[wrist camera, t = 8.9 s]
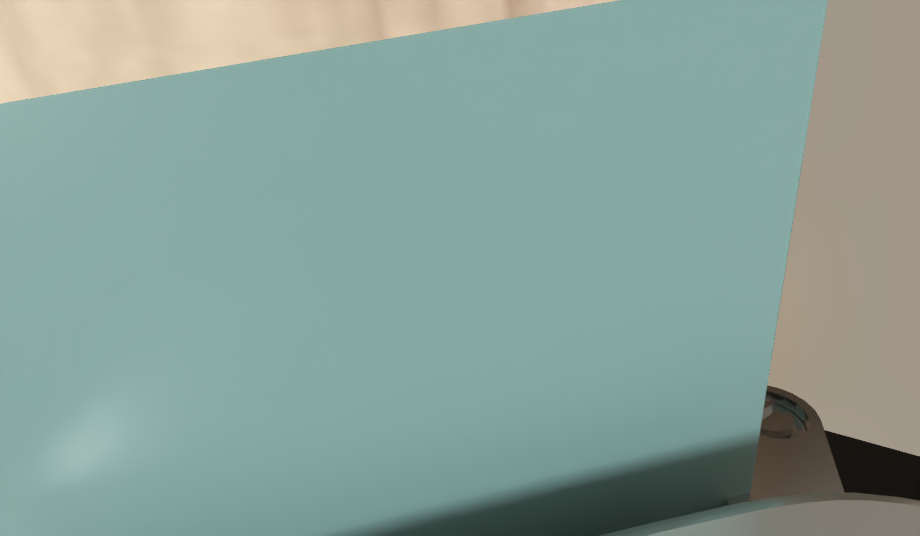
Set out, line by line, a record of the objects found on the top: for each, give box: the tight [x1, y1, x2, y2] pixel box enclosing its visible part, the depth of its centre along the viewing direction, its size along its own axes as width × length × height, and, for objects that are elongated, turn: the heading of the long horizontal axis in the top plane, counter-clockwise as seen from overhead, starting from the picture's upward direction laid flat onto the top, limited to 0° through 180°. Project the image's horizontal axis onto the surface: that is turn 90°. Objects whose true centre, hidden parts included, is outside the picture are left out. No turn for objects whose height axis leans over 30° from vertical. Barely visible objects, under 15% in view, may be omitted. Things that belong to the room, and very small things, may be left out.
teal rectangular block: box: [0, 0, 828, 536], centre depth 9 cm, size 13×8×8 cm, turn 9°
